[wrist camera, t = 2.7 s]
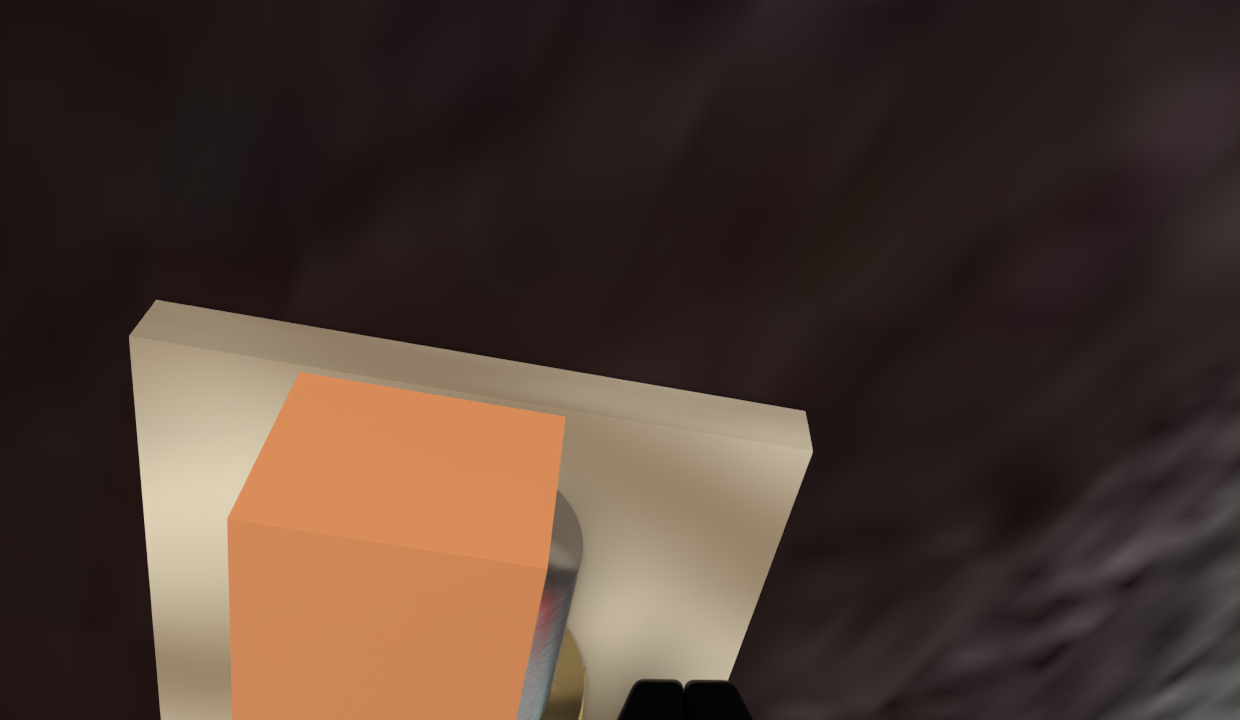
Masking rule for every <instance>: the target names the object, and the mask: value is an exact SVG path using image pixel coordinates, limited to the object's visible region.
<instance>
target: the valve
mask: <svg viewBox="0 0 1240 720" xmlns="http://www.w3.org/2000/svg"><path fill="white" fill-rule="evenodd" d="M582 554H583V537H582V531H581V527H580V524H579V521H578V518H577V516H576V514H575V512H574V510H573V509H572V507H571V505H570V504H569V502H568V501H567V500H566V498H565V497H564V496H563V494H562V493H561V492H560V491H559V490H558V489H557V494H556V502H555V511H554V519H553V527H552V536H551V544H550V552H549V561H548V569H547V574H546V579H545V583H544V588H543V593H542V598H541V602H540V607H539V612H538V617H537V622H536V626H535V631H534V636H533V641H532V646H531V650H530V655H529V660H528V665H527V669H526V674H525V679H524V684H523V689H522V693H521V698H520V703H519V708H518V713H517V717H516V720H582V716H583V702H584V688H585V674H586V668H583V667H582V662H581V658H580V655H579V652H578V649H577V646H576V643H575V641H574V639H573V637H572V635H571V633H570V631H569V630H568V628H567V627H566V625H567V621H568V616H569V612H570V608H571V604H572V599H573V595H574V591H575V586H576V582H577V578H578V573H579V569H580V565H581V560H582Z"/></svg>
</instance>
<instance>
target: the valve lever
mask: <svg viewBox="0 0 1240 720" xmlns="http://www.w3.org/2000/svg"><path fill="white" fill-rule="evenodd" d="M565 419H566V417H565V416H559V415H553V414H547V413H541V412H536V411H530V410H524V409H518V408H512V407H506V406H500V405H494V404H488V403H482V402H476V401H470V400H464V399H458V398H452V397H446V396H440V395H434V394H428V393H422V392H417V391H411V390H405V389H399V388H393V387H387V386H381V385H375V384H369V383H363V382H357V381H351V380H345V379H339V378H333V377H327V376H321V375H315V374H309V373H303V372H299V374H298V376H297V378H296V380H295V382H294V384H293V386H292V388H291V390H290V392H289V394H288V396H287V398H286V400H285V402H284V404H283V406H282V408H281V410H280V412H279V414H278V416H277V418H276V420H275V422H274V425H273V427H272V429H271V431H270V433H269V435H268V437H267V439H266V441H265V443H264V445H263V447H262V449H261V451H260V453H259V455H258V457H257V459H256V461H255V463H254V465H253V467H252V469H251V471H250V473H249V475H248V477H247V480H246V482H245V484H244V486H243V488H242V490H241V492H240V494H239V496H238V498H237V500H236V502H235V504H234V506H233V508H232V510H231V512H230V514H229V516H228V518H227V533H228V574H229V614H230V654H231V694H232V720H516V717H517V713H518V708H519V703H520V698H521V693H522V689H523V684H524V679H525V674H526V669H527V665H528V660H529V655H530V650H531V646H532V641H533V636H534V631H535V626H536V622H537V617H538V612H539V607H540V602H541V598H542V593H543V588H544V583H545V579H546V574H547V569H548V561H549V552H550V544H551V536H552V527H553V519H554V511H555V502H556V494H557V486H558V477H559V469H560V461H561V452H562V444H563V436H564V427H565Z"/></svg>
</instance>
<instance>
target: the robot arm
mask: <svg viewBox="0 0 1240 720" xmlns="http://www.w3.org/2000/svg"><path fill="white" fill-rule="evenodd" d="M617 720H753V718H752V716H751V715H750V713H749V711H748V709H747V707H746V705H745V703H744V701H743V699H742V697H741V696H740V694H739V692H738V690H737V688H736V687H735V686H734V685H733V684H732V683H731V682H730V681H727V680H696V679H693V680H690V681H688V682H687V683H686V684H685V686H684V689H683V685H682V683H681V682H679V681H678V680H675V679H640V680H638V681H636V682H635V684H634V685H633V686H632V688H631V690H630V692H629V694H628V696H627V698H626V700H625V703H624V705H623V707H622V709H621V711H620V713H619V716H618V718H617Z"/></svg>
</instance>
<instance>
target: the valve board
mask: <svg viewBox="0 0 1240 720" xmlns="http://www.w3.org/2000/svg"><path fill="white" fill-rule="evenodd" d="M129 341H130V353H131V365H132V377H133V389H134V401H135V413H136V425H137V437H138V449H139V461H140V473H141V485H142V497H143V509H144V521H145V533H146V545H147V557H148V569H149V581H150V593H151V605H152V617H153V629H154V641H155V653H156V665H157V677H158V689H159V701H160V713H161V720H232V694H231V654H230V614H229V574H228V533H227V518H228V516H229V514H230V512H231V510H232V508H233V506H234V504H235V502H236V500H237V498H238V496H239V494H240V492H241V490H242V488H243V486H244V484H245V482H246V480H247V477H248V475H249V473H250V471H251V469H252V467H253V465H254V463H255V461H256V459H257V457H258V455H259V453H260V451H261V449H262V447H263V445H264V443H265V441H266V439H267V437H268V435H269V433H270V431H271V429H272V427H273V425H274V422H275V420H276V418H277V416H278V414H279V412H280V410H281V408H282V406H283V404H284V402H285V400H286V398H287V396H288V394H289V392H290V390H291V388H292V386H293V384H294V382H295V380H296V378H297V376H298V374H299V372H303V373H309V374H315V375H321V376H327V377H333V378H339V379H345V380H351V381H357V382H363V383H369V384H375V385H381V386H387V387H393V388H399V389H405V390H411V391H417V392H422V393H428V394H434V395H440V396H446V397H452V398H458V399H464V400H470V401H476V402H482V403H488V404H494V405H500V406H506V407H512V408H518V409H524V410H530V411H536V412H541V413H547V414H553V415H559V416H565V417H566V419H565V427H564V436H563V444H562V452H561V461H560V469H559V477H558V486H557V489H558V490H559V491H560V492H561V493H562V494H563V496H564V497H565V498H566V500H567V501H568V502H569V504H570V505H571V507H572V509H573V510H574V512H575V514H576V516H577V518H578V521H579V524H580V527H581V531H582V537H583V554H582V560H581V565H580V569H579V573H578V578H577V582H576V586H575V591H574V595H573V599H572V604H571V608H570V612H569V616H568V621H567V625H566V627H567V628H568V630H569V631H570V633H571V635H572V637H573V639H574V641H575V643H576V646H577V649H578V652H579V655H580V658H581V662H582V667H583V668H586V674H585V688H584V702H583V716H582V720H617V718H618V716H619V713H620V711H621V709H622V707H623V705H624V703H625V700H626V698H627V696H628V694H629V692H630V690H631V688H632V686H633V685H634V684H635V682H636V681H638V680H640V679H675V680H678V681H679V682H681V683H682V685H683V689H684V686H685V684H686V683H687V682H688V681H690V680H693V679H696V680H727V681H728V679H729V676H730V673H731V671H732V668H733V665H734V663H735V660H736V657H737V655H738V652H739V649H740V646H741V644H742V641H743V638H744V636H745V633H746V630H747V628H748V625H749V622H750V620H751V617H752V614H753V611H754V609H755V606H756V603H757V601H758V598H759V595H760V593H761V590H762V587H763V585H764V582H765V579H766V576H767V574H768V571H769V568H770V566H771V563H772V560H773V558H774V555H775V552H776V550H777V547H778V544H779V541H780V539H781V536H782V533H783V531H784V528H785V525H786V523H787V520H788V517H789V515H790V512H791V509H792V506H793V504H794V501H795V498H796V496H797V493H798V490H799V488H800V485H801V482H802V480H803V477H804V474H805V471H806V469H807V466H808V463H809V461H810V458H811V455H812V453H813V449H812V443H811V438H810V433H809V428H808V422H807V417H806V412H805V411H801V410H796V409H790V408H784V407H778V406H772V405H766V404H761V403H755V402H749V401H743V400H737V399H731V398H726V397H720V396H714V395H708V394H702V393H696V392H691V391H685V390H679V389H673V388H667V387H661V386H656V385H650V384H644V383H638V382H632V381H626V380H621V379H615V378H609V377H603V376H597V375H591V374H586V373H580V372H574V371H568V370H562V369H556V368H551V367H545V366H539V365H533V364H527V363H521V362H516V361H510V360H504V359H498V358H492V357H486V356H481V355H475V354H469V353H463V352H457V351H452V350H446V349H440V348H434V347H428V346H422V345H417V344H411V343H405V342H399V341H393V340H387V339H382V338H376V337H370V336H364V335H358V334H352V333H347V332H341V331H335V330H329V329H323V328H317V327H312V326H306V325H300V324H294V323H288V322H282V321H277V320H271V319H265V318H259V317H253V316H247V315H242V314H236V313H230V312H224V311H218V310H212V309H207V308H201V307H195V306H189V305H183V304H177V303H172V302H166V301H160V300H156V301H155V303H154V304H153V305H152V307H151V308H150V309H149V310H148V312H147V313H146V314H145V316H144V317H143V318H142V320H141V321H140V322H139V324H138V325H137V326H136V328H135V329H134V330H133V332H132V333H131V334H130V335H129Z"/></svg>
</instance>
